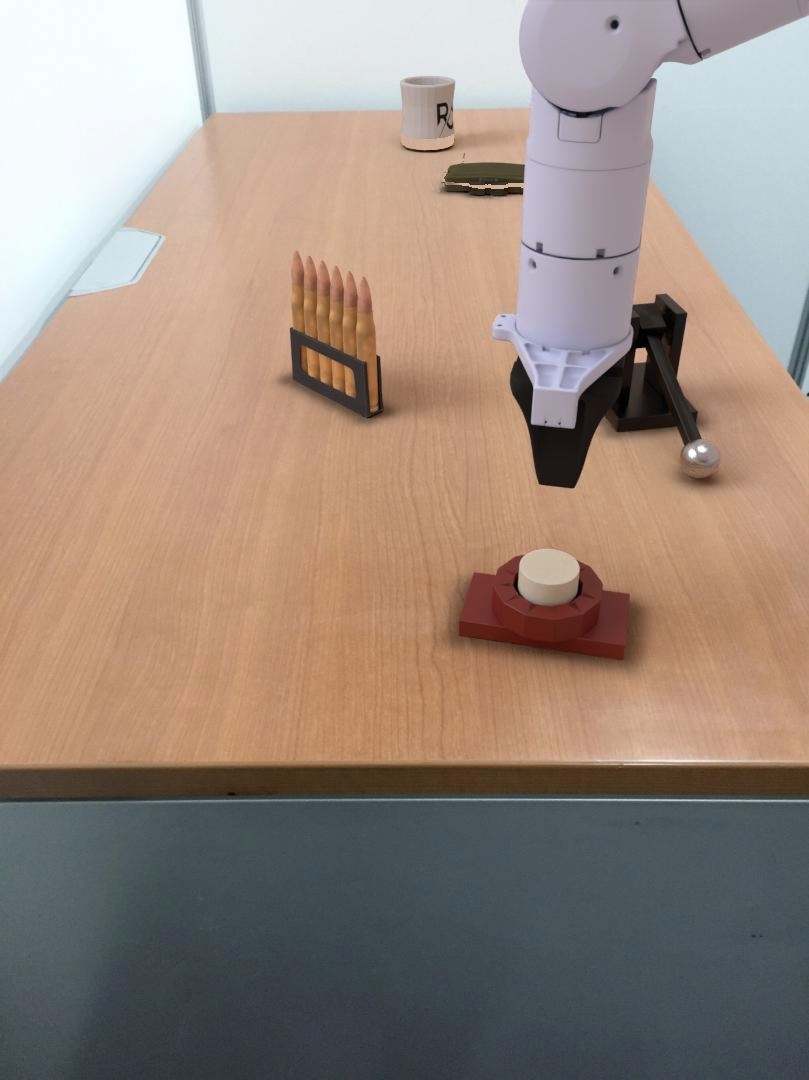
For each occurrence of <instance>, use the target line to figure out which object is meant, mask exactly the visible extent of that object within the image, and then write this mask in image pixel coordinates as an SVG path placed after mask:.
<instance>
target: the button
mask: <svg viewBox="0 0 809 1080" xmlns="http://www.w3.org/2000/svg"><path fill="white" fill-rule="evenodd" d="M525 554H526V555H525ZM525 554H523V555H524V556H523V558H522V559H521V561H520V565H519V578H518V590H519V592H520V594H521V595H522V597H523V598H525V599H526V600H528V601H530V602H532V603H533V604H539V605H545V606H552V607H553V606H558V605H563V604H567V603H569V602H571V601H572V600H573V599H574V598H575V596H576V595H577V590H578V582H579V573H580V566H579V564H578V562H577V560H578V559H577V558H575V557H574V556H572V555H571V554H569V553H568V552H565V551H562V550H559V549H554V548H538V549H534V550H531V551H529V552H527V553H525Z"/></svg>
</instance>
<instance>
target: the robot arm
mask: <svg viewBox="0 0 809 1080" xmlns="http://www.w3.org/2000/svg"><path fill="white" fill-rule="evenodd" d="M808 16H809V0H527V2H526V5H525V6H524V10H523V12H522V16H521V18H520V19H521V20H520V24H519V30H518V31H519V32H518V48H519V55H520V59H521V60H520V61H521V63H522V66H523V67H522V68H523V69H524V72H525V74H526V76H527V78H528V80H529V81H530V83H531V94H530V95H531V97H530V105H529V111H530V113H529V131H528V136H527V138H526V142H525V157H524V165H525V172H524V190H523V193H522V207H521V208H522V209H521V226H520V227H521V228H520V244H519V245H520V250H519V262H518V281H517V296H516V313H499V314H497V315H496V316H495V318H494V320H493V323H492V326H491V327H492V328H491V337H492V338H493V339H494V340H496V341H501V342H509V343H511V344H512V345H513V348H514V349H515V351H516V353H517V357H516V360H515V361H513V365H512V368H511V370H510V373H509V388H510V391H511V394H512V397H513V398H514V399H515V401H516V403H517V405H518V406H519V408H520V410H521V413H522V415H523V418H524V420H525V423H526V427H527V431H528V435H529V440H530V447H531V454H532V461H533V466H534V471H535V476H536V479H537V484H538V485H539V486H546V487H555V488H563V489H571V490H572V489H576V486H577V485H578V483H579V480H580V478H581V475H582V473H583V469H584V466H585V463H586V460H587V456H588V453H589V449H590V447H591V443H592V441H593V439H594V436H595V433H596V431H597V429H598V427H599V426H600V424H601V422H602V420H603V419H604V417H606V416H605V414H606V413H607V412H608V410H609V409H610V408H611V407H612V406H613V404H614V403H615V401H616V399H617V397H618V395H619V393H620V390H621V383H622V378H621V376H622V375H623V369H624V362H625V354H626V353H627V352H628V351H629V350H630V348H631V345H632V338H633V328H632V326H631V324H630V322H631V315H632V307H633V305H634V298H635V291H636V283H637V276H638V268H639V262H640V261H639V260H640V255H641V254H640V253H641V246H642V235H643V230H644V229H643V228H644V221H645V220H644V219H645V212H646V205H647V196H648V189H649V181H650V175H651V167H652V160H653V159H652V158H653V154H654V153H653V152H654V140H653V137H652V124H653V117H654V110H655V101H656V94H657V93H656V92H657V86H658V79H657V78H655V77H653V76H654V74H655V73H656V71H657V70H658V69H659V68H660V67H661V66H662V64H664V63H679V64H683V65H689V66H693V65H695V64H698V63H700V62H702V61H704V60H707V59H709V58H712V57H713V56H717V55H719V54H721V53H724V52H726V51H728V50H730V49H732V48H735V47H738V46H740V45H742V44H744V43H748V42H749V41H752V40H754V39H757V38H759V37H761V36H764V35H766V34H768V33H771V32H773V31H775V30H777V29H780V28H783V27H784V26H787V25H789V24H792V23H794V22H796V21H799V20H801V19H804V18H806V17H808Z"/></svg>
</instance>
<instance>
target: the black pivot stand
mask: <svg viewBox="0 0 809 1080" xmlns="http://www.w3.org/2000/svg"><path fill="white" fill-rule="evenodd" d="M654 297H655V298H654V303H657V305H658V307H659V309H660V312H661V314H662V316H663V319H664V321H665V323H666V326H667V327H666V330H665V332H664V335H663V337H662V340H661V342H662V344H663V346H664V349H665V351H666V354H667V356H668V358H669V361H670V363H671V366H672V368H673V370H674V373H675V375H676V378H677V379H678V374H679V369H680V367H679V366H680V362H681V356H682V355H681V354H682V350H683V349H682V348H683V344H684V338H685V332H686V331H685V330H686V327H687V326H686V325H687V318H688V312H687V311H686V310H685V309H684V308H683V307H682V306H681V305H679V303H678V302H676V301H675V300H674V299H673V298H672V297H671V296H670V295H669V294H667V293H658V294H657V293H656V294H655V296H654ZM630 324H631V326H632V328H633V338H632V345H631V348H630V350H629V351H628V352H627V353H626V354H625V362H624V369H623V375H622V376H621V378H622V383H621V390H620V393H619V395H618V397H617V399H616V401H615V403H614V404H613V406H612V407H611V408H610V409H609V410H608V412H607V413H606V414H605V416H604V417H605V418H606V419H607V420H608V422H609V423H610V424H611V426H612V427H613V429H614V430H615V431H616V432H617V433H618V432H628V431H639V430H647V429H649V430H650V429H659V428H668V427H669V428H670V427H677V426H676V423H675V421H674V418H673V416H672V413H671V411H670V409H669V406H668V404H667V401H666V399H665V396H664V394H663V391H662V389H661V386H660V384H659V381H658V379H657V376H656V374H655V371H654V369H653V366H652V364H651V361H650V359H649V356H648V354H647V353H646V360H645V361H643V362H636V361H635V359H636V353H637V349H636V346H637V339H638V331H639V324H640V316H639V315H638V314H637V313H636V312H635V311H634V310H633V309H632V315H631V322H630ZM684 397H685V399H686V402H687V404H688V406H689V409H690V411H691V414H692V416H693V418H694V421H695V423H696V424H697V421H698V420H697V419H698V415H699V411H698V410H697V408H696V407H695V406H694V405H693V404H692V403H691V402H690V400H688V399H687V397H686V396H685V395H684Z"/></svg>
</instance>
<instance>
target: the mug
mask: <svg viewBox="0 0 809 1080" xmlns="http://www.w3.org/2000/svg"><path fill="white" fill-rule="evenodd" d="M399 86H400V96H401V126H400V136H401V135H403V136H405V137H407V138H413V139H437V138H445V137H448V136H451V135H452V134H454V132H455V124H454V123H455V122H454V98H455V89H456V79H454V78H452V77H447V76H440V75H418V76H417V75H416V76H409V77H405V78H403V79H401V80H400V81H399Z"/></svg>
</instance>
